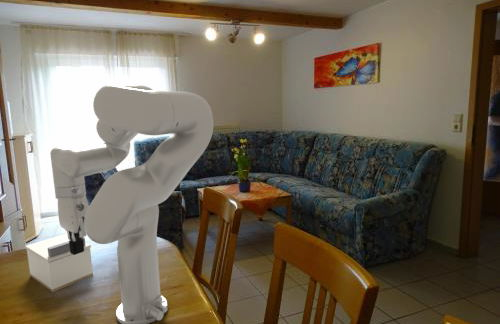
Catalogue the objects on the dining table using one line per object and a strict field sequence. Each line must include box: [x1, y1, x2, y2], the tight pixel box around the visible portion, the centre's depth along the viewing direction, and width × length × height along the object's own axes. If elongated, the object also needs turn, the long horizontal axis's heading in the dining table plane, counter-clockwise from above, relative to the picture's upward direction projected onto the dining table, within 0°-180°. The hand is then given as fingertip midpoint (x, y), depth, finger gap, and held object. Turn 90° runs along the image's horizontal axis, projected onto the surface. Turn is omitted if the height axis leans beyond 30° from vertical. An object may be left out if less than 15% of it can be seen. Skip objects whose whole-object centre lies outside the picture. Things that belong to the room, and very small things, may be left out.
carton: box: [26, 248, 94, 293], centre depth 106 cm, size 16×12×9 cm
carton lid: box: [25, 232, 92, 262], centre depth 105 cm, size 16×12×3 cm
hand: (77, 252), depth 97 cm, fingers closed
